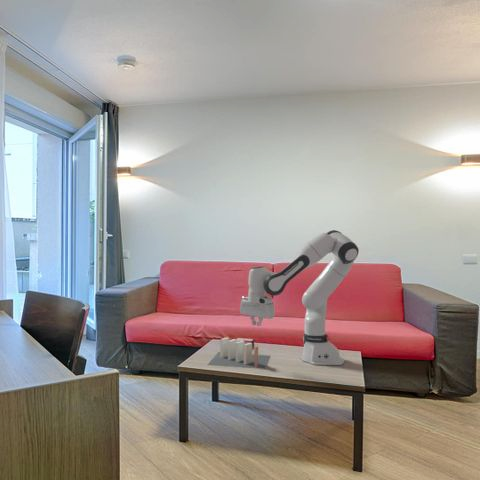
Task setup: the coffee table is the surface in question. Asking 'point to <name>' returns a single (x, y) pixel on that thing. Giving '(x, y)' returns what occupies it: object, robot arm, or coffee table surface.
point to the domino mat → (232, 363)
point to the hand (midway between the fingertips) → (256, 325)
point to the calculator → (245, 340)
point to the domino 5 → (256, 355)
